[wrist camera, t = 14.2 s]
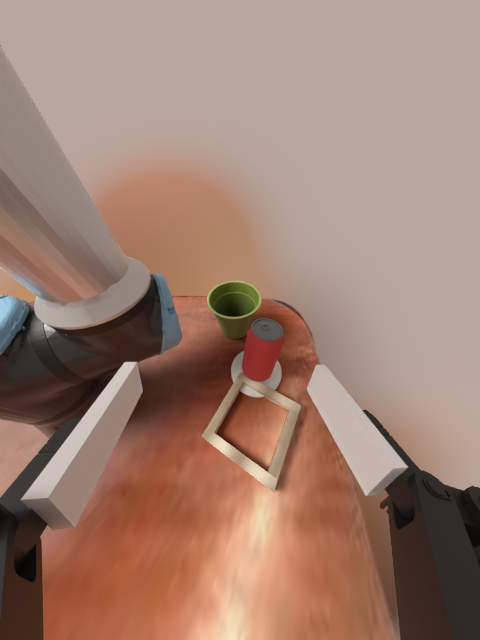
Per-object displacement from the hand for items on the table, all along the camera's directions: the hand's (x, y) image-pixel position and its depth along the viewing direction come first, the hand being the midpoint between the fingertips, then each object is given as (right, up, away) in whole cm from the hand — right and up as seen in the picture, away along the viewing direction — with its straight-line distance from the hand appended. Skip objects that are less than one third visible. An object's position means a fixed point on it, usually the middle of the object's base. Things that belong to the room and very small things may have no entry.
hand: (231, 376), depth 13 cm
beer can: (+4, -6, +24) cm, 25 cm away
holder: (+3, -15, +18) cm, 24 cm away
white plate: (+4, -7, +25) cm, 26 cm away
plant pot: (0, +2, +33) cm, 33 cm away
